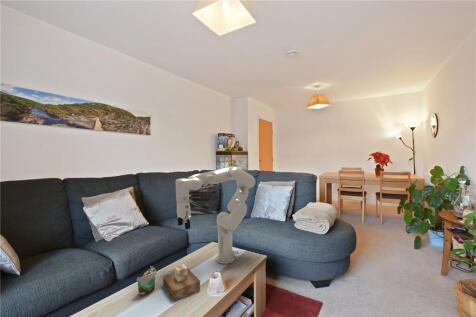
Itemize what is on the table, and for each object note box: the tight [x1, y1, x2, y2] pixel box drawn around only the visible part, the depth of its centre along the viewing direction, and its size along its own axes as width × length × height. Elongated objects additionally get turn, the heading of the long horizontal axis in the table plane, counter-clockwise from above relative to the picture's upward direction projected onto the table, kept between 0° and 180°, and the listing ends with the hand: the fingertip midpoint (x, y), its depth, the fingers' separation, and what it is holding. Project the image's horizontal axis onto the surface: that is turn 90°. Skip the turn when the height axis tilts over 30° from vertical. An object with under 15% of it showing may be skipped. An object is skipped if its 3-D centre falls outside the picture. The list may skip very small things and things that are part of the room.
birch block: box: [174, 263, 188, 282], centre depth 120 cm, size 5×5×6 cm
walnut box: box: [162, 267, 201, 302], centre depth 120 cm, size 14×16×5 cm
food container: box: [136, 265, 158, 297], centre depth 118 cm, size 12×6×10 cm, turn 168°
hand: (184, 226), depth 138 cm, fingers open, 9 cm apart
